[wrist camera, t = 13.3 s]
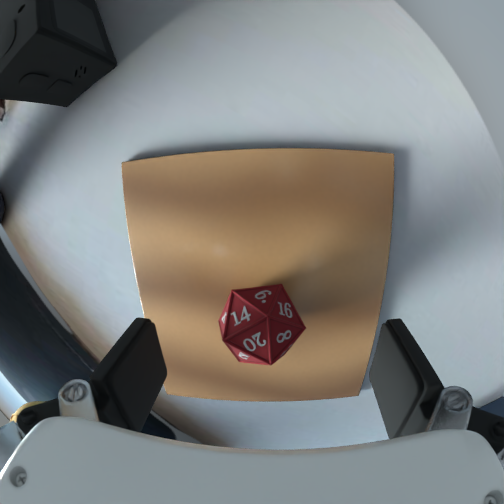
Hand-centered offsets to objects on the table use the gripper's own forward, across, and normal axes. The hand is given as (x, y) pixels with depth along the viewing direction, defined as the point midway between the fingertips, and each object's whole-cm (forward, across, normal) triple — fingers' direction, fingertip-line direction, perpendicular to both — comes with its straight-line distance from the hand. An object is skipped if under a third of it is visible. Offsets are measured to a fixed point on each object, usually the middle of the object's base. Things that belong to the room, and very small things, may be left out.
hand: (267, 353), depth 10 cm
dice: (+5, 0, 0) cm, 5 cm away
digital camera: (+5, +11, -18) cm, 22 cm away
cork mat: (+5, +1, 0) cm, 5 cm away
